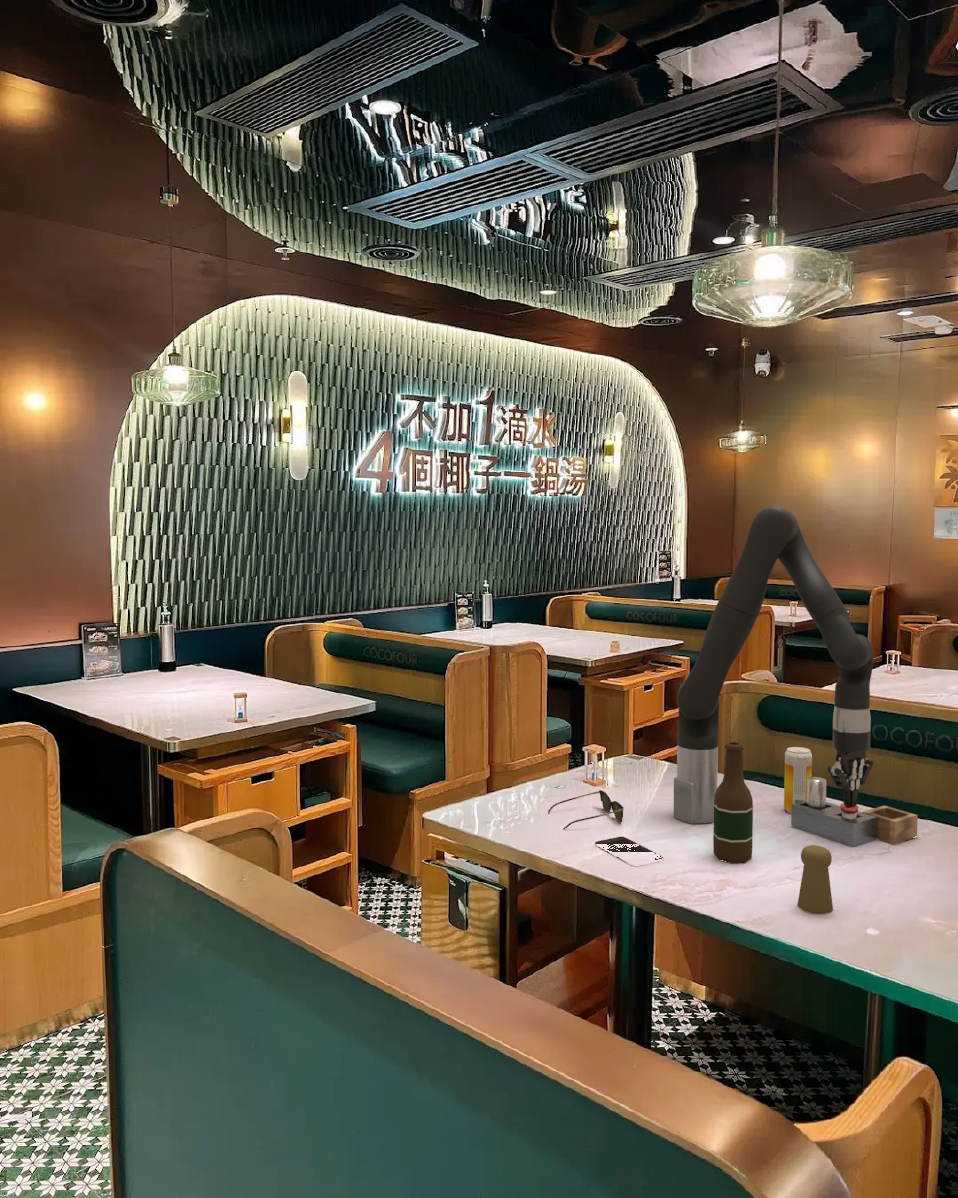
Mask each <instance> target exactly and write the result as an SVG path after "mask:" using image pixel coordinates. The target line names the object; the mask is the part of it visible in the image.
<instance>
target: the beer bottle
mask: <svg viewBox="0 0 958 1198" xmlns="http://www.w3.org/2000/svg"><path fill="white" fill-rule="evenodd" d="M724 749H725V756H724V757H725V758H724V771H723V778H722V781H721V782H720V784H718V786H717V790H716V793H715V796H714V822H713V832H712V833H713V837H712V838H713V840H712V841H713V842H712V846H713V854H714V856H715V857H716V859H717V858H718V859H717V860H718V861H720V860H723V861H722V862H724V861H726V862H725V863H728V862H729V863H728V864H746V863H747V862H748V861H750V860H751V859H752V857H753V837H754V835H753V829H754V827H753V826H754V825H753V824H754V819H753V818H754V805H753V804H754V802H753V796H752V794H751V791H750V789H749V787H748V786H747V784H746V783H745V778H744V777H745V776H744V765H743V750H744V745H743V743H740V742H739V741H738V742H737V741H729V742H726V743H725V745H724Z"/></svg>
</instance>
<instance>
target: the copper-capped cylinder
mask: <svg viewBox="0 0 958 1198" xmlns="http://www.w3.org/2000/svg"><path fill="white" fill-rule="evenodd" d="M839 806H840V810H841V811H842V817H844V818H847V819H850V820H852V819H856V818H857V812H859V805H858V804H857V805H856V806H853V807H849V806H846V805H844V802H842V803H840V805H839Z"/></svg>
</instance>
